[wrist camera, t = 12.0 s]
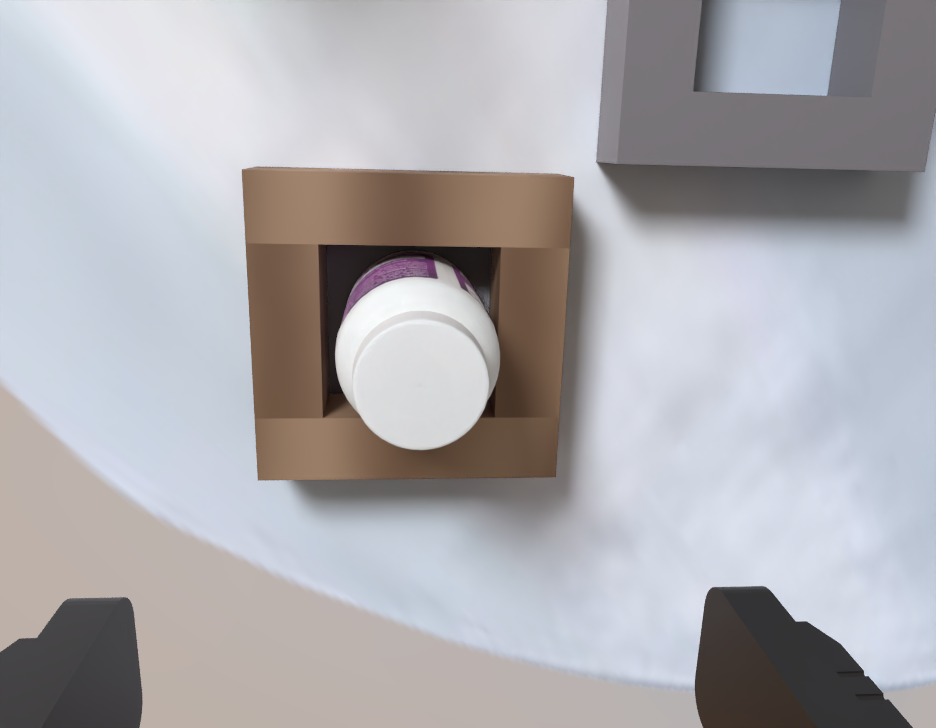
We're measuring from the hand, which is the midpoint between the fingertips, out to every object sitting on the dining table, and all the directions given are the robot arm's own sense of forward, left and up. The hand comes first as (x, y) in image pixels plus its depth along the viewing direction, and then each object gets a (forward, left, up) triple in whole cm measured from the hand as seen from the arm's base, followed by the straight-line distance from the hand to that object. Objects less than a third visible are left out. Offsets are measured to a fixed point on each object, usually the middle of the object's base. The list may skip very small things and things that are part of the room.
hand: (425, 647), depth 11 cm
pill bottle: (0, 0, -22) cm, 22 cm away
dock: (0, 0, -22) cm, 22 cm away
